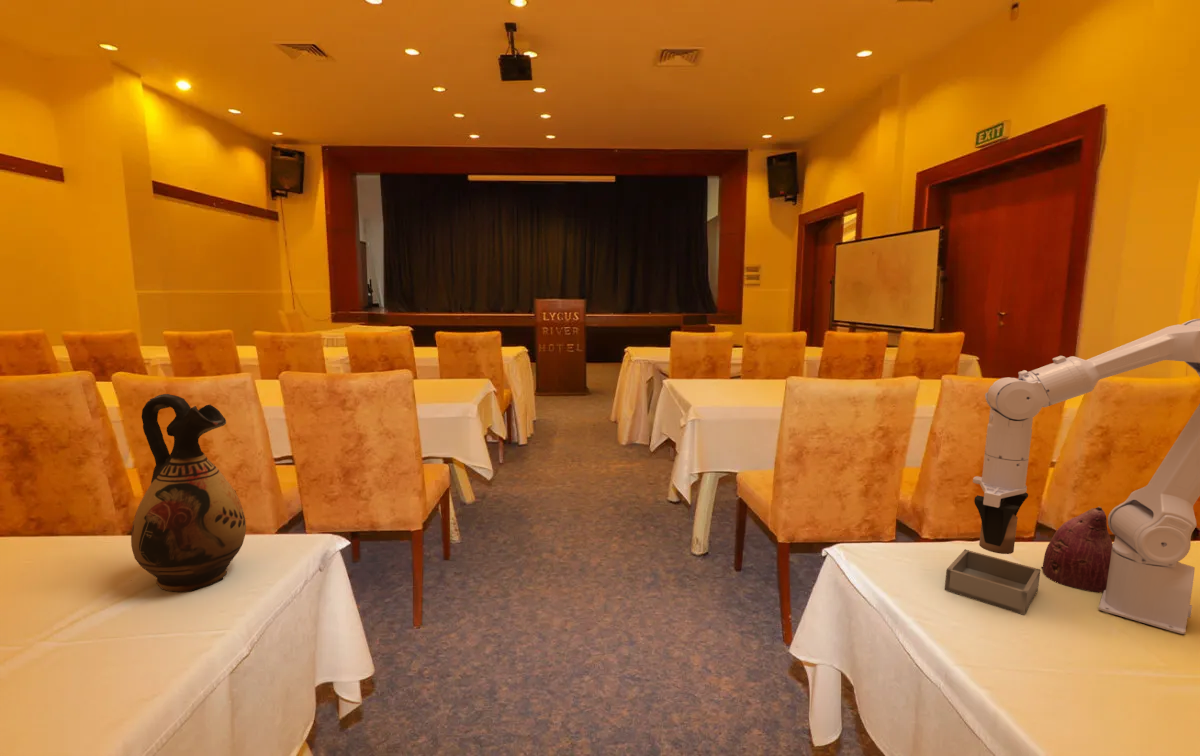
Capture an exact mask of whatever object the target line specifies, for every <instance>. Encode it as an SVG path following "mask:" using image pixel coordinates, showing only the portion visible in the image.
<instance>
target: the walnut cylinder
mask: <svg viewBox="0 0 1200 756" xmlns="http://www.w3.org/2000/svg"><path fill="white" fill-rule="evenodd" d="M1017 524H1018V516H1017V515H1014V514H1013V516H1012V518H1011V520H1010V522H1009V524H1008V527H1007V530H1006V534H1005V537H1004V540H1003V542H1002V544H1001V546H996V545H992V544H989V543H985V540H984V535H983V527H982V522H981V524H980V525H981V526H980V532H979V533H980V534H979V542H978V545H979V547H981V548H982V549H983V550H985V551H988V552H990V553H995V554H1000V555H1011V554H1013V553H1014V551H1015V542H1016V536H1017V526H1018V525H1017Z"/></svg>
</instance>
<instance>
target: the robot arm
mask: <svg viewBox="0 0 1200 756" xmlns="http://www.w3.org/2000/svg"><path fill="white" fill-rule="evenodd" d="M1163 361H1175V362H1184V363H1186V364H1187V365H1188V366H1189V367H1190V368H1191V369H1193V370H1194V371H1195V372H1196V373H1197V375H1198V377H1199V378H1200V318H1194V319H1191V320H1188V321H1185V322H1183V323H1181V324H1178V323H1177V324H1174V325H1170V326H1166V327H1163V328H1161V329H1159V330H1157V331H1154V332H1152V333H1150V334H1147V335H1144V336H1142V337H1140V338H1137V339H1135V340H1133V341H1130V342H1127V343H1124V344H1122V345H1121V346H1117V347H1115V348H1113V349H1110V350H1108V351H1105V352H1103V353H1100V354H1098V355H1095V356H1092V357H1090V358H1088V359H1083V358H1081V357H1078V356H1074V355H1073V356H1071V355H1070V356H1069V357H1066V356H1063V355H1059V356H1055V357H1053V358H1052V363H1049V364H1046V365H1044V366H1041V367H1039V368H1035V369H1032V370H1030V371H1027V370H1025V369H1023V370H1022V371H1021V370H1020V371H1018V373H1017V374H1018V377H1001V378H999V379H997V380H996V381H994V382H993V383H992V385H990V387H989V388H988V390H987V392H985V396H984V397H985V401H986V403H987V405H988V406H989V408H990V409H989V416H988V423H987V427H986V438H985V445H984V446H985V447H984V456H983V466H982V473H981V476H976V475H975V476H974V477H973V478H972V483H974V484H976V485H980V487H981V489H982V491H983V492H984V493H983V495H976V496H974V499H973V502H974V505H975V507H976V509H977V510H978V513H979V516H980V521H981V523H982V527H983V535H984V540H985V543H989V544H992V545H996V546H1001V544H1002V542H1003V540H1004V537H1005V534H1006V530H1007V527H1008V524H1009V522H1010V520H1011V518H1012V516H1013V514H1014V515H1016V516H1017V515H1018V512H1019V510H1020V508H1021V507H1022V505H1023V504H1024V502H1025V501H1026V500H1027V499H1028V497H1029V493H1027V490H1028V489H1027V488H1028V486H1027V484H1026V483H1027V477H1028V467H1029V457H1030V452H1031V451H1030V450H1031V449H1030V448H1031V441H1032V435H1033V434H1032V433H1033V421H1034V417H1036V416H1037V415H1039V412H1041V410H1042V408H1048V407H1050V406H1053V405H1056V404H1058V403H1059V404H1060V403H1061V402H1064V401H1069V400H1070V399H1074V398H1077V397H1080V396H1082V395H1085V394H1088V393H1091V392H1093V390H1094V389H1095V387H1096V386H1097V383H1098V382H1099V381H1100V380H1102V379H1107V378H1109V377H1113V376H1116V375H1119V374H1122V373H1126V372H1129V371H1132V370H1136V369H1139V368H1142V367H1146V366H1149V365H1153V364H1156V363H1159V362H1163ZM1199 498H1200V403H1199V404H1198V406H1197V407H1196V409H1195V410H1194V412H1193V413H1192V415H1191V417H1190V418H1189V419H1188V421H1187V422H1186V424H1185V426H1184V428H1183V429H1182V431H1181V432H1180V434H1179V435H1178V436H1177V439H1176V440H1174V443H1173V445H1172V446H1171V448H1170V449H1169V451H1168V452H1167V454H1166V455H1165V457H1164V459H1163V460H1162V461H1161V463H1160V464H1159V466H1158V468H1157V469H1156V471H1155V472H1154V474H1153V475H1152V477H1151V479H1150V480H1149V482H1148V484H1147V485H1145V486H1144V487H1141V488H1139V489H1136V490H1134V491H1132V492H1131V493H1130V494H1129V495H1128V497H1127V498H1126V500H1125V501H1123V502H1121V503H1119V504H1118V505H1116V506H1115V507H1113V508H1112V510H1111V511H1110V512H1109V514H1108V516H1107V527H1108V528H1109V531H1110V532H1111V533H1112V534H1113V535H1114V541H1113V542H1112V543H1113V544H1112V551H1111V558H1110V565H1109V572H1108V579H1107V587H1106V590H1104V592H1102V596H1101V598H1100V601H1099V604H1098V610H1099V611H1101V612H1104V613H1109V614H1111V615H1115V616H1119V617H1123V618H1125V619H1128V620H1132V621H1136V622H1138V623H1143V624H1146V625H1149V626H1153V627H1156V628H1159V629H1162V630H1166V631H1170V632H1173V633H1178V634H1181V635H1185V634H1186V629H1187V625H1188V618H1189V619H1190V618H1191V615H1192V611H1193V609H1192V608H1193V605H1192V604H1191V599H1192V598H1191V597H1192V593H1193V587H1194V586H1193V585H1194V581H1195V567H1194V566H1191V565H1188V564H1185V563H1183V562H1181V561H1182V560H1183V559H1185V558H1186V557H1187V555H1188V554H1189V552H1190V550H1191V543H1192V542H1191V541H1192V540H1191V539H1192V538H1191V537H1192V534H1193V532H1194V530H1195V528H1196V527H1197V519H1196V516H1195V510H1194V505H1195V504H1196V502H1197V501H1198V500H1199Z"/></svg>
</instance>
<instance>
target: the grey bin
mask: <svg viewBox="0 0 1200 756" xmlns="http://www.w3.org/2000/svg"><path fill="white" fill-rule="evenodd" d="M1040 576H1041V569H1040V568H1036V567H1032V566H1030V565H1029V566H1028V565H1025V564H1021V563H1018V562H1013V561H1010V560H1006V559H1002V558H999V557H995V556H992V555H988V554H984V553H980V552H977V551H973V550H969V549H964V550H962V552H961V553H960V554H959V555H958V556H957V557H956V558H955V559H954V561H952V563H951V564H950V565H949V566H948V567H947V568H946V571H945V580H944V581H945V582H944V591H947V592H950V593H953V594H956V595H960V596H962V597H965V598H968V599H973V600H976V601H979V602H981V603H985V604H987V605H991V606H994V607H998V608H1001V609H1003V610H1007V611H1011V612H1013V613H1015V614H1016V613H1017V614H1019V615H1023V616H1025V615H1026V614H1027V611H1028V609H1029V607H1030V605H1031V604H1032V602H1033V601H1034V598H1035V597H1034V596H1036V595H1035V594H1037V593H1038V591H1039V586H1040V585H1039V584H1040ZM1036 592H1037V593H1036Z"/></svg>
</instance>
